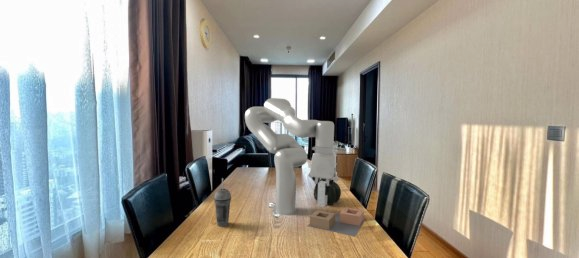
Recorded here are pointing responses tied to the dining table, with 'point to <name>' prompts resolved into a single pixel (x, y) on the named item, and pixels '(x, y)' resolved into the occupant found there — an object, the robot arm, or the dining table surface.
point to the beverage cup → (222, 206)
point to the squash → (331, 193)
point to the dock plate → (338, 221)
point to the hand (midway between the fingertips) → (322, 193)
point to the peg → (321, 194)
